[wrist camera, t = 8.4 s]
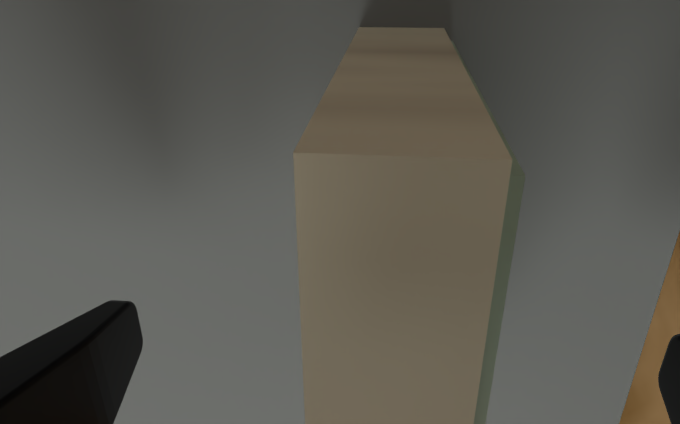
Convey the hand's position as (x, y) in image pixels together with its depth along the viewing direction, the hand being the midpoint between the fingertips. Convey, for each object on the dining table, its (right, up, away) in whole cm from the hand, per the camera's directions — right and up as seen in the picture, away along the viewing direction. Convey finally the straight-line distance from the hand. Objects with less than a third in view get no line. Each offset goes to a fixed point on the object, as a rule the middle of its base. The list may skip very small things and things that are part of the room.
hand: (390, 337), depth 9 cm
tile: (0, +2, +3) cm, 4 cm away
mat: (-3, +2, +4) cm, 5 cm away
